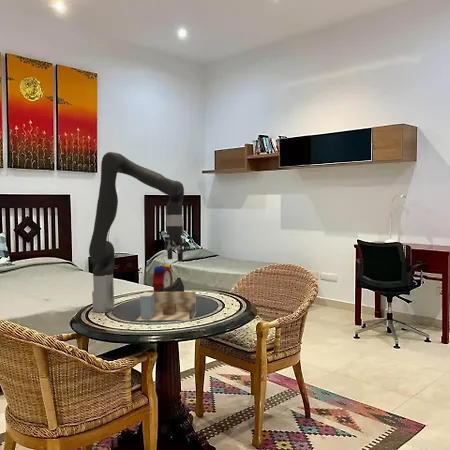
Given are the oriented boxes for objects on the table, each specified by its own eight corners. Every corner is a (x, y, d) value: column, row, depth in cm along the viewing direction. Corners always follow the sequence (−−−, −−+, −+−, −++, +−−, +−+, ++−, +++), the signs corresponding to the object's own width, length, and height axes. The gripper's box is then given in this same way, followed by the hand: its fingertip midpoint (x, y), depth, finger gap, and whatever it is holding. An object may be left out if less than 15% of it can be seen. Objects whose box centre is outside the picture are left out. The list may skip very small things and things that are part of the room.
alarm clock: (163, 297, 240) (162, 260, 239) (148, 296, 242) (147, 260, 241) (173, 291, 254) (171, 256, 253) (158, 291, 256) (157, 256, 255)
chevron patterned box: (135, 322, 190) (134, 299, 190) (144, 313, 205) (143, 292, 204) (191, 322, 189) (191, 298, 188) (196, 313, 204) (195, 291, 203)
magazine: (160, 292, 207) (181, 265, 235) (154, 292, 208) (175, 265, 235) (165, 324, 213) (185, 294, 240) (159, 324, 214) (179, 294, 241)
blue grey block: (140, 319, 192) (139, 295, 191) (144, 314, 199) (143, 292, 198) (151, 318, 192) (150, 295, 191) (154, 314, 199) (154, 292, 198)
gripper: (159, 224, 206) (159, 259, 207) (176, 225, 195) (176, 262, 196) (173, 223, 211) (173, 258, 212) (190, 225, 200) (190, 261, 201)
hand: (175, 260), depth 204 cm, fingers open, 8 cm apart
